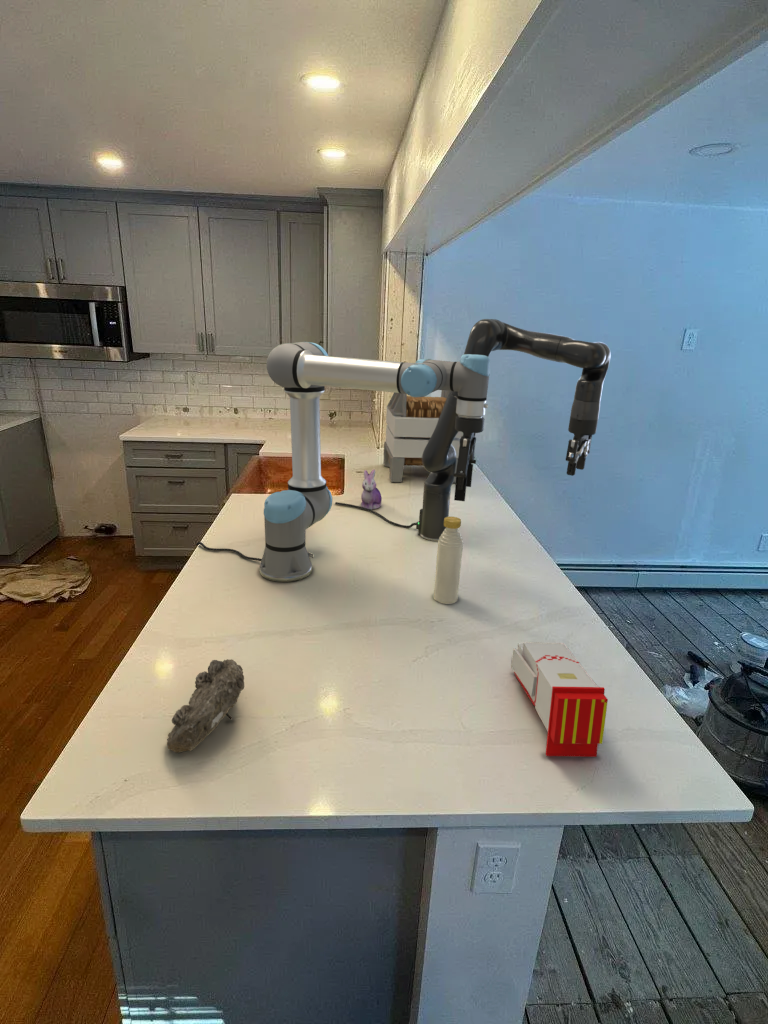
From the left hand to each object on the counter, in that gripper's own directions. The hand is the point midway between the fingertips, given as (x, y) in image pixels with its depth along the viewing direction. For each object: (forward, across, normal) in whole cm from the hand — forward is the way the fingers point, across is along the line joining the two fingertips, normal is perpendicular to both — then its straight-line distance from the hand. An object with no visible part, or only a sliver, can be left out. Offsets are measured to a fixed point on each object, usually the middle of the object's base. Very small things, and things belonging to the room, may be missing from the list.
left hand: (462, 493), depth 155 cm
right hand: (-4, +19, -30) cm, 36 cm away
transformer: (+28, +112, +34) cm, 120 cm away
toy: (+28, -48, -26) cm, 62 cm away
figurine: (+28, +56, +42) cm, 75 cm away
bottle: (+28, -9, +1) cm, 29 cm away
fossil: (+28, -71, +36) cm, 85 cm away
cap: (+5, -9, +1) cm, 10 cm away
